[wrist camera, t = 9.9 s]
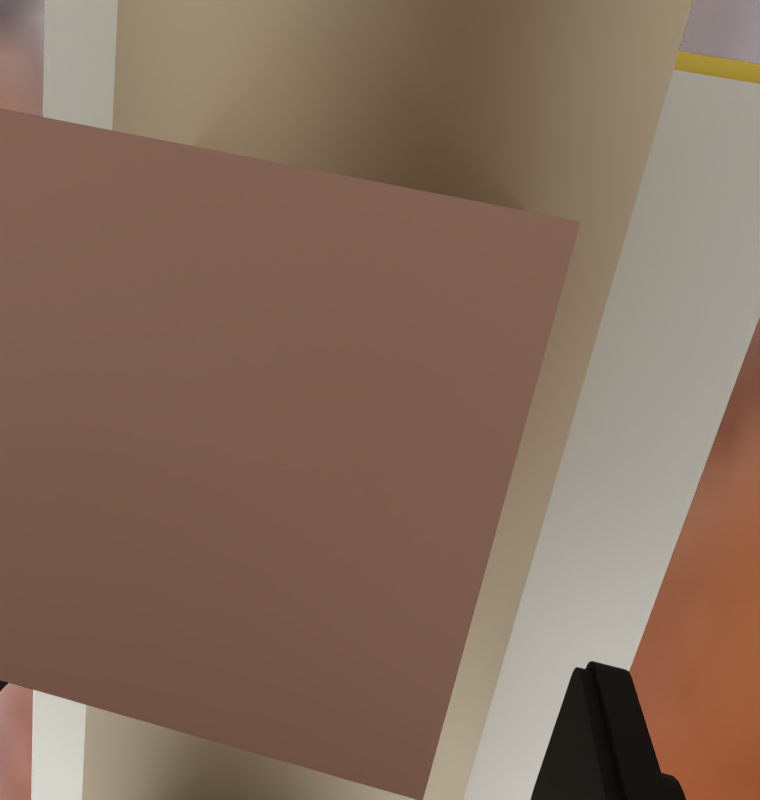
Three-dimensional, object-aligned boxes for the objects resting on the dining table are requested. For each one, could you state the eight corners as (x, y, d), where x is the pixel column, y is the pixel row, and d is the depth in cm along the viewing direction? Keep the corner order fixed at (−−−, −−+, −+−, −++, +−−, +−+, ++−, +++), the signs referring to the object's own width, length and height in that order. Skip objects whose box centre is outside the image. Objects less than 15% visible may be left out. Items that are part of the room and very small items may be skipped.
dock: (728, 120, 14) (848, 74, 10) (510, 799, 21) (517, 976, 16) (179, 26, 16) (45, -54, 11) (130, 693, 22) (30, 827, 17)
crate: (529, 214, 7) (580, 222, 3) (451, 531, 8) (421, 802, 5) (187, 148, 7) (-119, 85, 4) (160, 460, 9) (-92, 654, 5)
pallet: (618, 72, 10) (697, -12, 6) (388, 941, 16) (358, 1164, 12) (251, 12, 11) (122, -97, 7) (163, 873, 17) (69, 1066, 13)
